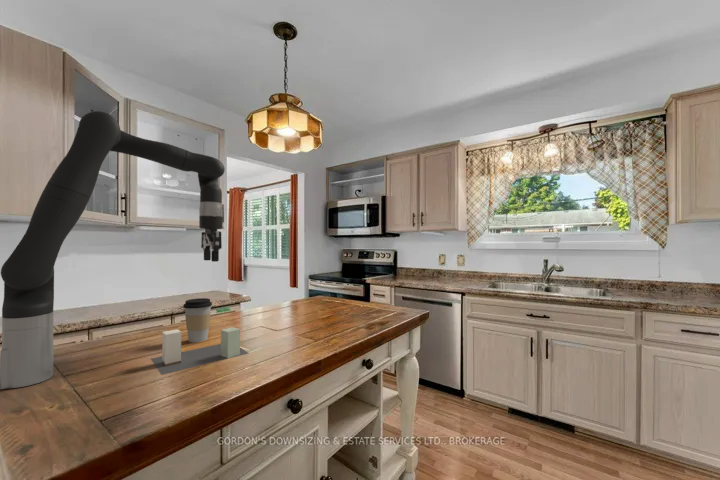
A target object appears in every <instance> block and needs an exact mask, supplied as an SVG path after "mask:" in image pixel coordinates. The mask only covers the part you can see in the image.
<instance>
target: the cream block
mask: <svg viewBox="0 0 720 480" xmlns="http://www.w3.org/2000/svg"><path fill="white" fill-rule="evenodd" d="M161 334H162V335H161V336H162V346H161V347H162V349H161V350H162V355H161V356H162V363H163V364H164V365H165V366H169V365H173V364H178V363H181V352H182V331H181V330H179V329H178V328H177V329H171V330H165V331H162V333H161Z"/></svg>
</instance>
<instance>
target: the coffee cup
mask: <svg viewBox="0 0 720 480" xmlns="http://www.w3.org/2000/svg"><path fill="white" fill-rule="evenodd" d="M212 305H213V302H212V301H211V299H210V298H207V297H202V298H192V299H188V300H187V299H186V300H185V303H184V304H183V306H182V308H183V309H184V312H185V314H184V315H185V325H186V330H187V337H188V338H187V339H188V342H189V343H194V344H196V343H201V342H205V341H207V340H208V338H209V337H208V335H209V329H210V324H211V323H210V321H211V313H212V312H211V308H212Z"/></svg>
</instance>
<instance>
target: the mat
mask: <svg viewBox="0 0 720 480" xmlns="http://www.w3.org/2000/svg"><path fill="white" fill-rule="evenodd" d="M248 354H250V352H248V351H246V350H245V349H243V348H242V347H240V355H237V356H234V357H231V358H226V357H223V356H221V343H218V344H213V345H208V346H204V347H200V348H194V349H190V350H185V351H181V363H178V364H173V365H169V366H165V365H164V364H163V363H162V355H161V356H156V357H151V358H150V360H151V362H152V363H153V364H154V366H155V368H156V369H157V371H158V372H159V373H160V375H161V376H164V375H167V374H171V373H175V372H180V371H184V370H188V369H192V368H196V367H200V366H204V365H207V364H212V363H217V362H219V361H224V360H228V359H232V358H236V357H240V356H245V355H248Z"/></svg>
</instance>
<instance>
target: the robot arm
mask: <svg viewBox="0 0 720 480" xmlns="http://www.w3.org/2000/svg"><path fill="white" fill-rule="evenodd" d="M71 143H72V144H71V146H70V148H69V150H68V152H67V153H66V154H65V156H64V157H63V159H62V160H61V162H60V163H59V164H58V166H57V167H56V169H55V170H54V172H53V173H52V175H51V177H50V178H49V180H47V181H48V182H47V183H46V185H45V187H44V189H43V190H42V192H41V194H40V197H39V199H38V201H37V203H36V206H35V207H34V210H33V212H32V216H31V218H30V221H29V224H28V226H27V228H26V229H27V230H26V231H25V233H24V234H23V236H22V238H21V240H20V241H19V242H18V244H17V245H16V247H15V248H14V249H13V251H12V253H11V254H10V256H8V258H7V259H6V260H5V262H4V263H3V264H2V266H1V268H0V277H1V279H2V281H3V282H4V283H3V286H4V287H3V302H2V308H1V349H0V390H5V389H16V388H23V387H28V386H29V387H30V386H32V385H36V384H39V383H43V382H45V381H47V380H49V379H50V378H53V376H54V303H55V266H56V265H55V264H56V261H57V258H58V255H59V253H60V250H61V248H62V245H63V243H64V241H65V239H66V238H67V237H68V235H69V234H70V232H71V231H72V229H73V228H74V227H75V226H76V224H77V222H78V221H79V220H80V218H81V216H82V215H83V213H84V212H85V209H86V208H87V205H88V203H89V201H90V198H91V197H92V194H93V193H94V189H95V186H96V184H97V181H98V177H99V174H100V172H101V171H100V170H101V168H102V165H103V162H104V161H105V159H106V157H107V156H108V154H109V153H110V152H114V153H120V154H125V155H129V156H134V157H138V158H142V159H144V160H148V161H151V162H154V163H158V164H161V165H164V166H167V167H170V168H173V169H177V170H180V171H183V172H193V173H197V178H198V183H199V189H200V192H199V193H200V194H199V198H200V199H199V210H198V211H199V213H198V214H199V217H198V218H199V225H198V226H199V229H201V230H202V229H203V230H204V231H202V232H201V241H200V242H201V246H200V248H201V249H202V250H203V260H204V261H211V262H219V261H220V259H219V258H220V255H219V254H220V250H221V249H222V248H223V246H222V245H223V244H222V243H223V242H222V231H218V230H222V229H223V227H224V226H223V222H224V221H223V214H224V212H223V204H222V202H223V201H222V200H223V197H222V196H223V192H222V189H221V188H220V187H219V178H221V177H222V176H223V175H224V173H225V165H224V163H222V161H221V160H219V159H217V158H216V157H213V156H210V155H205V154H201V153H196V152H192V151H189V150H187V149H184V148H182V147H179V146H176V145H173V144H170V143H166V142H162V141H158V140H156V141H155V140H151V139H146V138H142V137H139V136H135V135H133V134H131V133H128V132H126V131H123V130H121V127H120V124H119V123H118V121H117V120H116V118H115V117H113V116H112V115H111V114H110V113H107V112H104V111H100V110H99V111H98V110H95V111H90V112H87V113H86V114H84V115H83V116H82V117H81V118H80V119H79V123H78V127H77V130H76V134H75V136H74V139H73V142H71Z"/></svg>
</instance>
